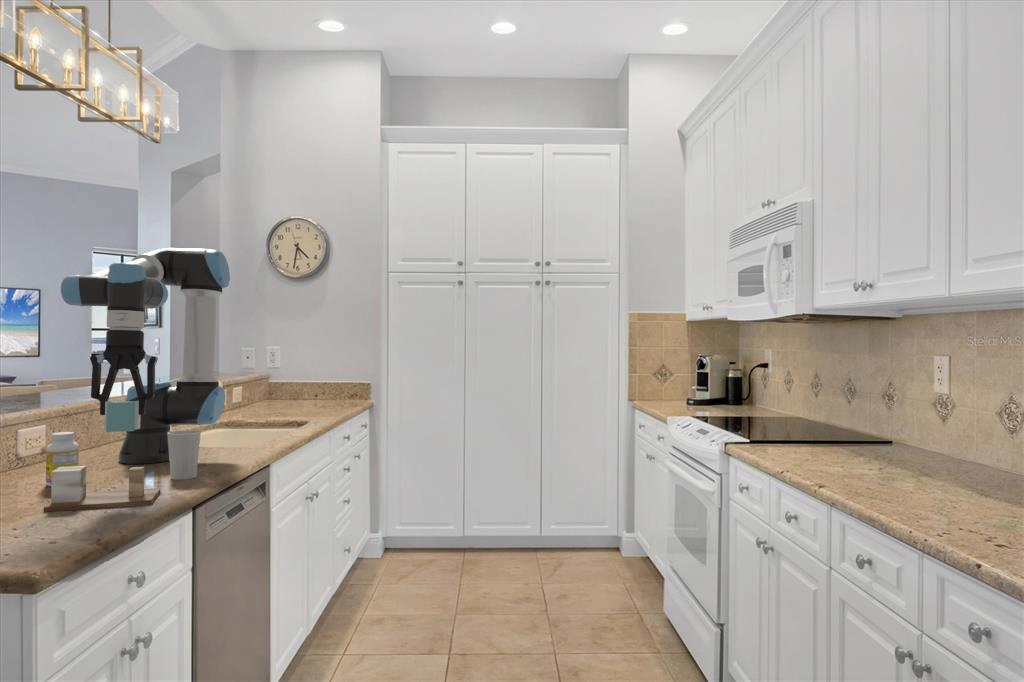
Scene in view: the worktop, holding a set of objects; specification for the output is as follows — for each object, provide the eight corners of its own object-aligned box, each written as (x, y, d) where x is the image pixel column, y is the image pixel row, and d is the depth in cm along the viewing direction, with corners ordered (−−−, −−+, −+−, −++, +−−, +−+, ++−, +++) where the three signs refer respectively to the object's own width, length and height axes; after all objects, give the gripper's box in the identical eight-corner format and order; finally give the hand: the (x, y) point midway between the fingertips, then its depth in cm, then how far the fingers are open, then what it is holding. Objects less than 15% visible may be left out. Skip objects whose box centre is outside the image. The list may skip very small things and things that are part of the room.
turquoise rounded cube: (112, 429, 148) (113, 401, 148) (137, 428, 150) (138, 401, 150) (106, 431, 143) (107, 402, 143) (132, 431, 145) (133, 402, 145)
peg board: (61, 498, 144) (61, 464, 144) (160, 492, 151) (160, 459, 151) (43, 511, 133) (44, 475, 133) (151, 504, 140) (152, 469, 140)
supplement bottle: (50, 482, 159) (50, 431, 159) (81, 480, 162) (82, 430, 162) (42, 488, 153) (43, 435, 153) (74, 486, 156) (75, 434, 156)
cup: (186, 481, 163) (186, 434, 163) (159, 479, 165) (160, 433, 165) (206, 474, 171) (207, 430, 171) (181, 473, 173) (182, 429, 173)
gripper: (74, 327, 141) (71, 432, 140) (166, 330, 147) (163, 430, 146) (85, 329, 148) (82, 428, 147) (172, 331, 154) (169, 426, 153)
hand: (122, 428), depth 147 cm, fingers closed on turquoise rounded cube, 5 cm apart
